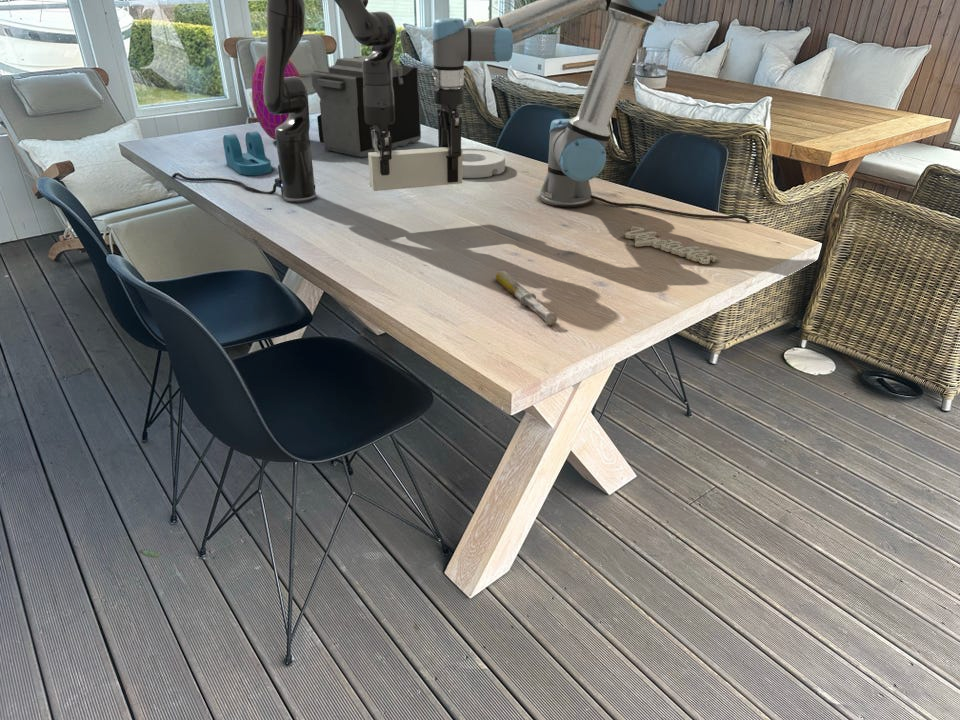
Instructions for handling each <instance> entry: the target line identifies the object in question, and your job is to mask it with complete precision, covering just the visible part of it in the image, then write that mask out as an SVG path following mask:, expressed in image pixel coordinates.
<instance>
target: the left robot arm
mask: <svg viewBox="0 0 960 720" xmlns="http://www.w3.org/2000/svg"><path fill="white" fill-rule="evenodd" d="M333 1H334V2H335V4H336V5H337V6H338V8H339V9H340V10H341V11H342V13H343V17H344V19H345V21H346V24H347V25H348V28H349V30H350V32H351V35H352V36H353V37H354V39H355V40H356V41H357V42H358V43H359V44H360V45H362V46H365V47H371V51H370V54H369V55H368V57H366V58H365V59H364V60H363V62H362V71H363V102H364V116H365V122H366V123H367V124H369V125H373V127H371V128H370V130H371V138H372V146H373V148H372V149H373V151H374V152H379V159H380V172H381V175H383V176H384V175H389V174H390V171H389V160H390V159H391V158H392V156H391V153H392V151H393V149H392V138H391V137H390V131H388V128H387V126H388V125H389V124H393V123H394V122H395V106H394V91H393V84H392V68H391V65H392V60H394V54H395V49H396V42H397V34H398V33H397V26H396V23H395V20H394V18H393V17H392V15H390V13H388V12H386V11H372V12H371V11H369V10H368V9H367V6H368V4H369V0H333ZM305 21H306V3H305V0H266V55H265V56H266V65H265V74H264V84H263V97H264V102H265V106H266V108H267V110H268V111H269V112H270V113H271V114H274V115H281V114H288V113H289V116H288V118H287V120H286V121H285V122H284V123H282V124H281V125H279V126H278V127H277V128H276V129H275V137H276V140H275V143H276V148H277V158H278V165H277V171H278V177H277V178H275V179H274V184H273V185H272V190H270V191H262V190H260V189H258V188H255V187H251V186H248V185H247V184H244V182H242V181H239V180H235V179H230V178H223V177H222V178H220V177H187V176H185V175H183V174H182V173H180V172H174V173H173V174H172V176H171V178H173V179H174V178H176V177H179V178H181V179H183V180H185V181H189V182H206V181H207V182H208V181H209V182H211V181H212V182H224V183H225V182H226V183H232V184H236V185H240V186H241V187H243V188H244V189H246V190H248V191H252V192H255V193H256V194H257V193H258V194H263V195H273V194H275V193H276V191H277V188H279V189H280V192H281V198H283V200H284V201H286V202H290V203H305V202H311V201H314V200H315V199H317V192H316V183H315V176H314V174H315V173H314V167H313V157H312V149H311V141H310V126H311V122H310V121H311V120H310V109H309V108H310V107H309V95H308V90H307V87H306V85H305V82H304V81H303V79H302V78H301V79H300V78H299V77H295V76H293V77H284V74H285V69H286V65H287V63H288V60H290V59H291V57H292V56H293V54H294V52H295V50H296V49H297V47H298V45H299V44H300V41H301V40H302V38H303V35H304V32H305V24H306V23H305ZM384 152H386V153H387V155H384Z"/></svg>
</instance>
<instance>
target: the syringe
mask: <svg viewBox="0 0 960 720" xmlns="http://www.w3.org/2000/svg"><path fill="white" fill-rule="evenodd" d="M495 277H496V281H497V282H498V283H499V284H500V285H501V286H502V287H504V288H505V289H506V290H507V291H508V292H509V293H510V294H511V295H512V296H513V297H515V299H517V300H518V301H519V304H520V306H521V307H526V306H527V307H528V308H530V309H531V310H532V311H533V312H534V313H536V315H538V316H539V317H540V318H541V319H542V320H543V321H544V322H545V325H547V326H551V325H553V324H555V323H556V322H557V321H558V318H557V313H556V312H555V311H554V312H551V311H550V310H549V309H548V308H547V307H546V306H544V305H543V304H542V303H541V302H539V301H537V296H536V294H534V293H533V292H529V291H528V290H527V289H526V288H524V286H523V285H521V284H520V283H518V281H516V280H515V279H513V278H512V277H511V276H510V274H509V273H508V272H506V271H505V270H502V269H501V270H499V271H497V272H496V275H495Z"/></svg>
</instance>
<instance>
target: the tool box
mask: <svg viewBox="0 0 960 720" xmlns="http://www.w3.org/2000/svg"><path fill="white" fill-rule="evenodd" d="M368 56H369V55H368ZM368 56H367V55H356V56H353V57H350V58H349V57H343V58H342V57H341V59H340V58H337V59H336V60H335V63H334V64H333V65H330V66H329V67H328V72H327V71H320V70H314V71H313V70H312V71H310V79H311V87H313V90H314V91H315V93H316V94H317V96H318V98H319V110H320V111H319V112H320V114H319V115H317V116H316V119H317V128H318V138H319V143H320V144H323V146H324V149H325V150H327V151H330V152H335V153H340V154H344V155H348V156H353V157H357V158H362V159H363V158H366V157H367V158H368V153H369V152H374V151H373V149H372V148H373V146H372V138H371V130H370V128H371V127H373V125H369V124H367V123H366V122H365V116H364V102H363V71H362V62H363V60H364V59H365V58H366V57H368ZM391 68H392V84H393V91H394V106H395V122H394V123H393V124H389V125H388V126H387V128H388V131H390V137H391V138H392V150H395V149H396V148H397V147H405V146H407V145H408V144H416V143H418V142H419V141H421V137H422V128H421V97H420V92H419V91H420V89H419V68H418V67H417V66H408V65H400V64H396V62H395V60H394V59H393V60H392V65H391Z"/></svg>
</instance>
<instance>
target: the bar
mask: <svg viewBox="0 0 960 720" xmlns="http://www.w3.org/2000/svg"><path fill="white" fill-rule="evenodd" d="M384 155H387V153H386V152H384ZM448 155H449V154H448V147H440V148H439V147H427V148H414V149H413V148H412V149H399V150H392V153H391V156H392V158H391V159H390V160H389V171H390V174H389V175H384V176H383V175H381V172H380V159H379V152H369V153H368V156H367V158H368V172H369V187H370V188H371V189H372V192H379V191H380V192H383V191H390V190H391V191H392V190H393V191H394V190H404V189H415V188H416V189H417V188H426V187H436V186H437V187H438V186H449V185H460V184H463V178H462V150H461V156H460V157H458V182H450V183H448V179H447V158H446V156H448Z"/></svg>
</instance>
